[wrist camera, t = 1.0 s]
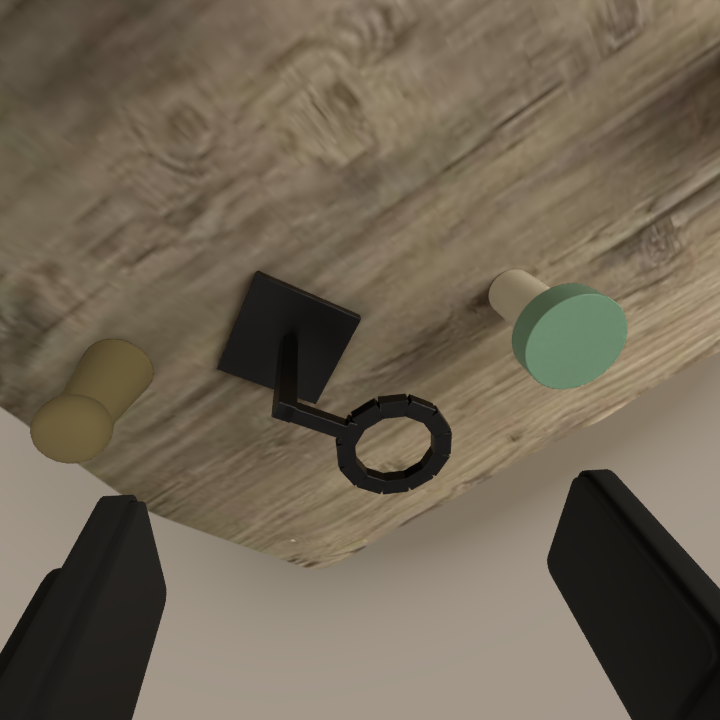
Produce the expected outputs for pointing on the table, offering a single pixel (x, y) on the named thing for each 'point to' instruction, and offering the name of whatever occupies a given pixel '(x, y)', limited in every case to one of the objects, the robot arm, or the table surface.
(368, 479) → the holder
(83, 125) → the table surface
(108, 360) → the tan pawn
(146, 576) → the robot arm
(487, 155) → the table surface
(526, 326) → the canister
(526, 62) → the table surface
